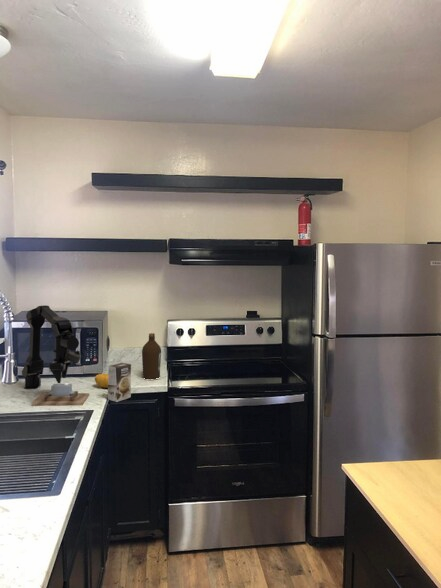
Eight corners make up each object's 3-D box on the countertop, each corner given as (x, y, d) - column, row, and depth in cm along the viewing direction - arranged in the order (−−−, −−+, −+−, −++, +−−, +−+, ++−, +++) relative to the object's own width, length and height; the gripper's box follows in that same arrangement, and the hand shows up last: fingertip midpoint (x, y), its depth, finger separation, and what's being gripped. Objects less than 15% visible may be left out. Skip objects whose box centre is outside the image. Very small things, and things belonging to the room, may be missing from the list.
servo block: (47, 399, 198) (47, 384, 198) (50, 396, 203) (50, 382, 202) (73, 399, 199) (73, 384, 199) (75, 396, 204) (75, 381, 203)
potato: (101, 384, 229) (101, 371, 228) (124, 387, 223) (124, 374, 223) (92, 387, 222) (92, 374, 222) (115, 391, 217) (115, 377, 216)
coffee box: (117, 402, 200) (117, 367, 199) (107, 399, 204) (107, 365, 203) (131, 397, 208) (131, 363, 207) (121, 394, 211) (121, 362, 210)
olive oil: (142, 380, 237) (142, 335, 235) (141, 375, 247) (141, 332, 246) (161, 380, 239) (162, 335, 238) (160, 375, 250) (160, 332, 248)
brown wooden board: (31, 405, 193) (31, 399, 192) (42, 395, 208) (42, 389, 207) (82, 405, 195) (82, 398, 195) (89, 395, 210) (89, 389, 210)
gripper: (74, 350, 191) (75, 385, 192) (84, 343, 209) (84, 375, 211) (48, 350, 190) (48, 386, 191) (60, 343, 208) (60, 375, 209)
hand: (61, 380), depth 200 cm, fingers open, 9 cm apart
